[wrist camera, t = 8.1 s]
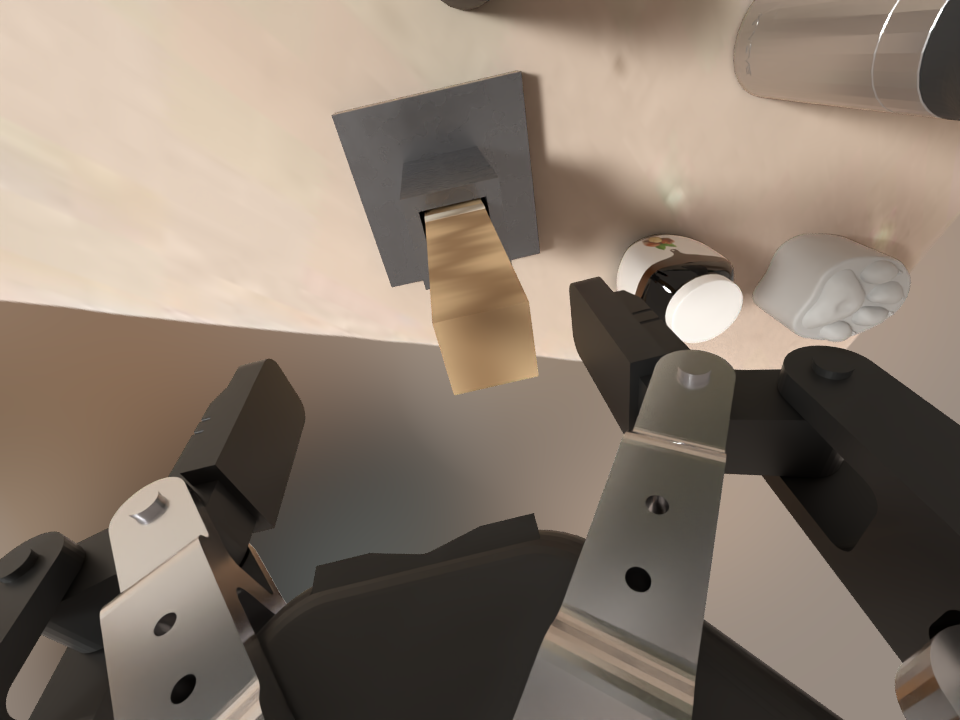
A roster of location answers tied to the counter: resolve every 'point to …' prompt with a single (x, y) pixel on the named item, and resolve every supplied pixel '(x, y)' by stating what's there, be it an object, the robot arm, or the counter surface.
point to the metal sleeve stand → (442, 166)
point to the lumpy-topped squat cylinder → (831, 287)
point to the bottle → (464, 3)
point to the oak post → (476, 300)
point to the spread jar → (682, 285)
